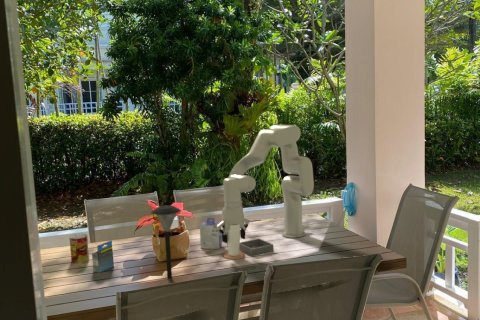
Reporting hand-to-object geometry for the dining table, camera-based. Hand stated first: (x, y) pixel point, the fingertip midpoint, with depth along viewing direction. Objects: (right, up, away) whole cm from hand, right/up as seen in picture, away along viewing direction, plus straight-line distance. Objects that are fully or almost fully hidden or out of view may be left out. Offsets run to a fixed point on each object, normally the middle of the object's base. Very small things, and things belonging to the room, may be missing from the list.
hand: (234, 240), depth 221 cm
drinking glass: (0, -7, +1) cm, 7 cm away
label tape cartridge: (-58, -11, -11) cm, 60 cm away
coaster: (0, -7, +1) cm, 7 cm away
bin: (+10, -6, +7) cm, 14 cm away
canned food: (-72, -10, +2) cm, 73 cm away
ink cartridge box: (-11, -6, +15) cm, 20 cm away
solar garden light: (-26, -12, -23) cm, 37 cm away
